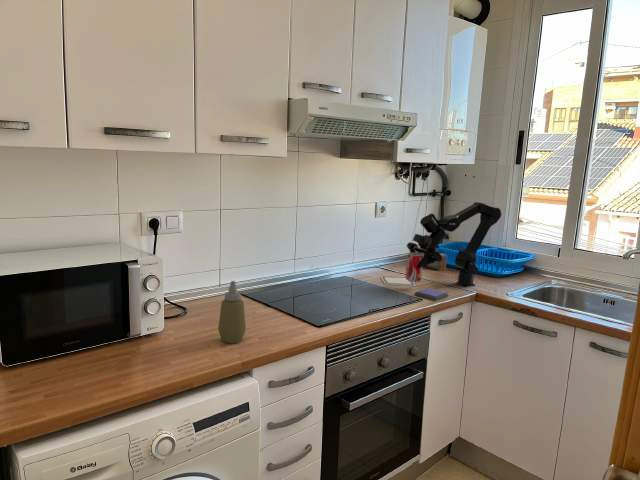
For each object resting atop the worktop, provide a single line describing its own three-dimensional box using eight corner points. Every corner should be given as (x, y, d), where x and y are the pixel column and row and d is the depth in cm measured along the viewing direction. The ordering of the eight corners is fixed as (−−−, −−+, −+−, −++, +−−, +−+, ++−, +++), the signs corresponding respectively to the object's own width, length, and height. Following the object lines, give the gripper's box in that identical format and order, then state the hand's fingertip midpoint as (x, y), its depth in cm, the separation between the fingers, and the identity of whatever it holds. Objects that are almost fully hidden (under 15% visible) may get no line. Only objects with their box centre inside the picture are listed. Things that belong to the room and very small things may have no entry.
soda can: (417, 283, 201) (419, 256, 199) (402, 280, 205) (404, 253, 203) (424, 280, 206) (426, 253, 204) (409, 277, 210) (411, 251, 208)
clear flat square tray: (409, 278, 225) (409, 277, 225) (415, 286, 212) (415, 285, 211) (380, 277, 225) (380, 276, 225) (384, 284, 211) (384, 283, 211)
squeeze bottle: (212, 339, 139) (213, 280, 136) (235, 333, 145) (236, 276, 142) (228, 348, 133) (229, 286, 130) (251, 341, 139) (252, 282, 136)
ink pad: (427, 291, 204) (427, 287, 204) (448, 296, 197) (448, 293, 197) (414, 295, 197) (414, 291, 197) (435, 300, 190) (436, 297, 190)
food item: (418, 265, 255) (419, 247, 253) (428, 264, 260) (429, 246, 258) (437, 271, 244) (439, 252, 242) (447, 269, 249) (449, 251, 247)
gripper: (411, 224, 211) (389, 249, 208) (439, 231, 195) (416, 258, 192) (423, 240, 216) (402, 265, 213) (452, 248, 200) (429, 275, 197)
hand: (412, 266), depth 204 cm, fingers closed on soda can, 7 cm apart
